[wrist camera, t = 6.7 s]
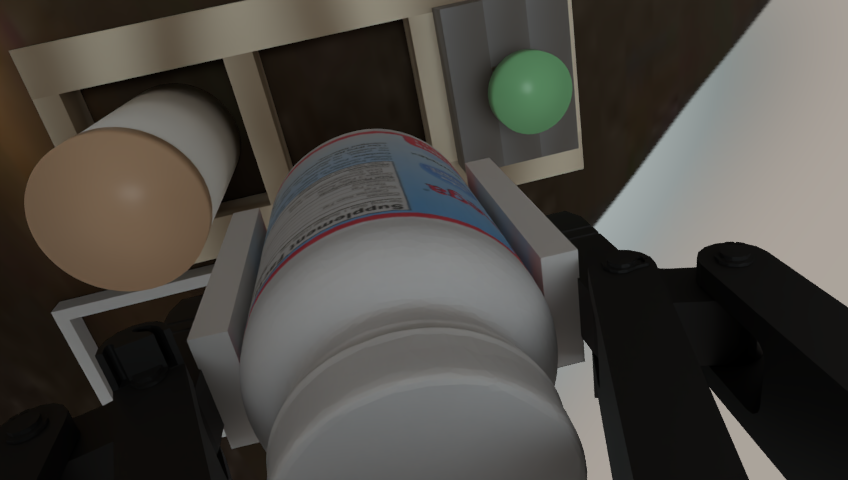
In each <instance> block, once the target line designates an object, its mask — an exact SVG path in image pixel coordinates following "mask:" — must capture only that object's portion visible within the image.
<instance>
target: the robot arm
mask: <svg viewBox="0 0 848 480" xmlns="http://www.w3.org/2000/svg"><path fill="white" fill-rule="evenodd" d="M465 168H466V175H467V182H468V187H469V189H470V190H471V192H472V193H473V194H474V195H475V197H476V198H477V200H478V201H479V203H480V204H481V205H482V206H483V208H484V210H485V211H486V212H487V214H488V215H489V216H490V218H491V219H492V220H493V222H494V223H495V225H496V226H497V228H498V229H499V230H500V231H501V233H502V234H503V236H504V237H505V239H506V240H507V242H508V243H509V245H510V246H511V247H512V249H513V250H514V252H515V253H516V254H517V256H518V257H519V258H520V260H521V261H522V263H523V264H524V266H525V267H526V268H527V270H528V271H529V273H530V274H531V276H532V277H533V279H534V281H535V282H536V284H537V286H538V287H539V289H540V290H541V292H542V294H543V296H544V298H545V300H546V302H547V305H548V307H549V309H550V312H551V315H552V318H553V322H554V326H555V331H556V336H557V345H558V368H559V367H563V366H567V365H571V364H575V363H579V362H583V361H585V359H584V342H583V339H584V341H585V342H586V343H587V345H588V346H589V347H590V349H591V350H592V355H593V373H594V392H595V398H598V399H599V405H600V411H601V416H602V422H603V428H604V433H605V438H606V444H607V450H608V456H609V461H610V467H611V473H612V478H613V480H749V479H748V476H747V474H746V472H745V469H744V467H743V465H742V462H741V460H740V458H739V455H738V453H737V451H736V448H735V446H734V444H733V441H732V439H731V437H730V434H729V432H728V430H727V428H726V425H725V423H724V421H723V418H722V416H721V414H720V411H719V409H718V407H717V405H716V402H715V400H714V398H713V395H712V393H711V390H712V391H713V392H714V393H715V394H716V395H717V397H718V398H719V399H720V400H721V401H722V403H723V404H724V405H725V406H726V408H727V409H728V410H729V411H730V412H731V414H732V415H733V416H734V417H735V418H736V419H737V421H738V422H739V423H740V424H741V426H742V427H743V428H744V429H745V430H746V431H747V433H748V434H749V435H750V436H751V438H752V439H753V440H754V441H755V442H756V444H757V445H758V446H759V447H760V448H761V450H762V451H763V452H764V453H765V454H766V456H767V457H768V458H769V459H770V460H771V462H772V463H773V464H774V465H775V466H776V467H777V469H778V470H779V471H780V472H781V473H782V475H783V476H784V477H785V478H786V479H787V480H848V307H847V306H845V305H844V304H842V303H841V302H839V301H838V300H836V299H835V298H834V297H832V296H831V295H829V294H828V293H826V292H825V291H823V290H822V289H820V288H819V287H818V286H816V285H815V284H813V283H812V282H810V281H809V280H807V279H806V278H805V277H803V276H802V275H800V274H799V273H797V272H796V271H794V270H793V269H791V268H790V267H789V266H787V265H786V264H784V263H783V262H781V261H780V260H779V259H777V258H776V257H774V256H773V255H771V254H770V253H769V252H767V251H765V250H763V249H761V248H759V247H757V246H753V245H748V244H745V243H741V242H736V243H734V242H725V243H718V244H713V245H710V246H707V247H704V248H703V249H702V250H701V251H700V252H698V256H697V267H694V268H675V269H659V268H657V265H656V263H655V262H654V261H653V260H652V258H651V257H650V256H647V255H645V254H643V253H640V252H636V251H631V250H618V249H617V248H616V247H614V246H613V245H612V244H611V243H610V242H609V241H608V240H607V239H605V238H604V237H603V236H602V235H601V234H599V233H598V231H597V230H596V229H594V228H593V227H591V225H590V224H589V223H588V222H587V221H586V220H584V219H583V218H582V217H581V216H578V215H575V214H572V213H570V212H567V211H563V212H559V213H555V214H550V215H546V216H545V215H544V214H543V213H542V212H541V211H540V210H539V209H538V208H537V207H536V206H535V205H534V204H533V203H532V201H531V200H530V199H529V198H528V197H527V196H526V195H525V194H524V193H523V192H522V191H521V190H520V189H519V188H518V187H517V186H516V185H515V184H514V183H513V182H512V181H511V180H510V179H509V178H508V177H507V175H506V174H505V173H504V172H503V171H502V170H501V169H500V168H499V167H498V166H497V165H496V164H495V163H494V162H493V161H492V160H491V159H490V158H486V159H481V160H477V161H472V162H467V163H465ZM266 233H267V230H266V227H265V223H264V220H263V217H262V214H261V211H260V208H255V209H251V210H246V211H241V212H237V213H233V215H232V218H231V221H230V224H229V226H228V229H227V232H226V235H225V237H224V240H223V243H222V245H221V248H220V251H219V254H218V256H217V259H216V262H215V265H214V267H213V270H212V273H211V275H210V278H209V281H208V284H207V286H206V289H205V292H204V295H200V296H196V297H191V298H187V299H183V300H181V301H180V302H179V303H178V304H177V305H176V306H175V307H174V308H173V309H172V310H171V311H170V312H169V314H168V316H167V318H166V320H165V323H162V322H158V321H156V322H145V323H142V324H138V325H134V326H131V327H129V328H127V329H125V330H122V331H120V332H118V333H116V334H115V335H113V336H112V337H110V338H109V339H107V340H106V341H105V342H104V343H103V344H102V345H101V346H100V347H99V348H98V350H97V352H96V354H95V358H96V360H97V362H98V364H99V366H100V368H101V370H102V371H103V373H104V375H105V377H106V379H107V381H108V383H109V385H110V387H111V389H112V391H113V401H111V402H109V403H107V404H105V405H103V406H101V407H99V408H96V409H94V410H91V411H89V412H87V413H84V414H82V415H80V416H77V417H75V418H73V419H72V417H71V415H70V413H69V411H68V410H67V409H66V407H65V406H64V405H62V404H56V403H51V404H45V405H40V406H37V407H35V408H32V409H27V410H25V411H23V412H21V413H20V414H19V415H18V414H17V415H15V416H13V417H12V418H10V419H9V420H8V421H7V422H6V423H5V424H3V425H2V426H1V427H0V480H232V479H231V475H230V471H229V467H228V464H227V461H226V458H225V456H224V454H223V451H222V449H221V447H220V443H221V438H222V433H223V429H224V431H225V434H226V436H227V439H228V441H229V443H230V446H231V448H232V449H233V448H238V447H242V446H246V445H250V444H254V443H258V442H259V440H258V438H257V437H256V435H255V433H254V431H253V429H252V427H251V424H250V422H249V420H248V417H247V414H246V411H245V408H244V404H243V400H242V395H241V387H240V357H241V351H242V345H243V338H244V334H245V328H246V325H247V320H248V315H249V310H250V306H251V302H252V297H253V293H254V288H255V284H256V279H257V275H258V270H259V266H260V261H261V255H262V251H263V246H264V241H265V238H266ZM709 387H710V388H711V390H710V388H709Z"/></svg>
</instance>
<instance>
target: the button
mask: <svg viewBox="0 0 848 480" xmlns="http://www.w3.org/2000/svg"><path fill="white" fill-rule="evenodd" d="M571 97H572V79H571V76H570V73H569V71H568V69H567V67H566V66H565V64H564V63H563V62H562V61H561V60H560V59H559V58H557V57H556V56H554V55H552V54H550V53H547V52H544V51H540V50H537V49H523V50H519V51H516V52H514V53H511V54H510V55H508V56H507V57H505V58H504V59H503V60H502V61H501V62H500V63H499V64H498V66H497V67H496V68H495V70H494V72H493V73H492V76H491V78H490V81H489V86H488V100H489V105H490V107H491V110H492V112H493V113H494V115H495V116H496V118H497V119H498V120H499V121H501V122H502V123H503V124H504V125H506V126H507V127H508V128H510V129H511V130H513V131H515V132H518V133H522V134H537V133H540V132H543V131H546V130H548V129H549V128H551V127H552V126H554V125H555V124H556V123H557V122H558V121H559V120H560V119H561V118H562V117H563V116H564V114H565V112H566V111H567V109H568V107H569V104H570V101H571Z"/></svg>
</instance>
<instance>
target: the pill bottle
mask: <svg viewBox="0 0 848 480" xmlns="http://www.w3.org/2000/svg"><path fill="white" fill-rule="evenodd" d="M557 368H558V345H557V336H556V331H555V326H554V322H553V318H552V315H551V312H550V309H549V307H548V305H547V302H546V300H545V298H544V296H543V294H542V292H541V290H540V289H539V287H538V286H537V284H536V282H535V281H534V279H533V277H532V276H531V274H530V273H529V271H528V270H527V268H526V267H525V266H524V264H523V263H522V261H521V260H520V258H519V257H518V256H517V254H516V253H515V252H514V250H513V249H512V247H511V246H510V245H509V243H508V242H507V240H506V239H505V237H504V236H503V234H502V233H501V231H500V230H499V229H498V228H497V226H496V225H495V223H494V222H493V220H492V219H491V218H490V216H489V215H488V214H487V212H486V211H485V210H484V208H483V206H482V205H481V204H480V203H479V201H478V200H477V198H476V197H475V195H474V194H473V193H472V192H471V190H470V189H469V187H468V186H467V184H466V183H465V182H464V180H463V179H462V178H461V176H460V175H459V173H458V172H457V171H456V169H455V168H454V167H453V166H452V165H451V163H450V162H449V161H448V160H447V159H446V158H445V157H444V156H443V155H442V154H441V153H440V152H439V151H437V150H436V149H435V148H433V147H432V146H431V145H429V144H428V143H426V142H424V141H422V140H420V139H418V138H416V137H414V136H412V135H409V134H406V133H403V132H399V131H394V130H387V129H365V130H358V131H354V132H350V133H346V134H343V135H340V136H338V137H335V138H332V139H330V140H328V141H327V142H325V143H323V144H321V145H319V146H318V147H316V148H315V149H313V150H312V151H310V152H309V153H308V154H307V155H305V156H304V157H303V158H302V159H301V160H300V161H299V162H298V163H297V164H296V165H295V166H294V167H293V168H292V169H291V170H290V172H289V173H288V174H287V176H286V177H285V179H284V181H283V182H282V184H281V186H280V188H279V190H278V193H277V195H276V198H275V201H274V204H273V208H272V211H271V216H270V220H269V225H268V229H267V233H266V238H265V241H264V246H263V251H262V255H261V261H260V266H259V270H258V275H257V279H256V284H255V288H254V293H253V297H252V302H251V306H250V310H249V315H248V320H247V325H246V328H245V334H244V338H243V345H242V351H241V357H240V387H241V395H242V400H243V404H244V408H245V411H246V414H247V417H248V420H249V422H250V424H251V427H252V429H253V431H254V433H255V435H256V437H257V438H258V440H259V442H260V443H261V445H262V447H263V448H264V450H265V451H266V452H267V456H266V466H267V480H587V467H586V460H585V455H584V450H583V447H582V444H581V441H580V439H579V436H578V434H577V432H576V430H575V428H574V426H573V424H572V422H571V421H570V419H569V417H568V415H567V413H566V411H565V410H564V408H563V405H562V402H561V400H560V397H559V395H558V393H557V390H556V389H555V387H554V386H555V381H556V375H557Z"/></svg>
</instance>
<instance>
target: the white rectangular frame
mask: <svg viewBox="0 0 848 480" xmlns="http://www.w3.org/2000/svg"><path fill="white" fill-rule="evenodd" d="M214 265H215V264H212V265H208V266H204V267H200V268H196V269H192V270H187V271H186V272H185V273H183V274H182V275H181V276H180V277H178V278H176V279H175V280H173V281H171V282H169V283H167V284H165V285H162V286H159V287H156V288H153V289H148V290H142V291H115V290H106V291H102V292H98V293H94V294H89V295H85V296H81V297H77V298H73V299H69V300H65V301H61V302H59V303H58V304H57V306H56V307H55V308H54V309H53V311H52V312H51V314H52V316H53V317H54V319H55V321H56V323H57V325H58V326H59V328H60V330H61V332H62V334H63V335H64V337H65V339H66V341H67V342H68V344H69V346H70V348H71V350H72V351H73V353H74V355H75V357H76V359H77V360H78V362H79V364H80V366H81V368H82V369H83V371H84V373H85V375H86V377H87V378H88V380H89V382H90V384H91V386H92V387H93V389H94V391H95V393H96V395H97V396H98V398H99V400H100V402H101V403H102V405H105V404H107V403H109V402H111V401H113V391H112V389H111V387H110V385H109V383H108V381H107V379H106V377H105V375H104V373H103V371H102V370H101V368H100V366H99V364H98V362H97V360H96V358H95V354H96V352H97V350H98V347H97V345H96V343H95V341H94V340H93V338H92V336H91V334H90V332H89V330H88V328H87V326H86V325H85V323H84V321H83V319H82V317H83V316H87V315H91V314H95V313H99V312H103V311H107V310H111V309H115V308H119V307H123V306H128V305H132V304H136V303H140V302H144V301H148V300H152V299H156V298H160V297H164V296H168V295H172V294H176V293H180V292H184V291H188V290H192V289H196V288H200V287H204V286H207V284H208V281H209V278H210V275H211V273H212V270H213V267H214ZM225 436H226V434H225V431H224V429H223V433H222V437H225Z"/></svg>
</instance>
